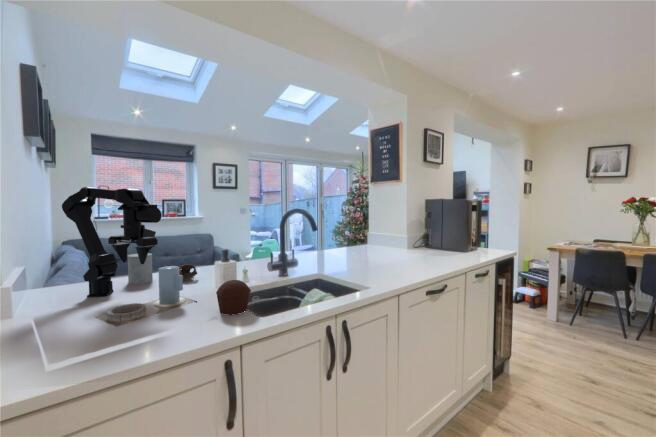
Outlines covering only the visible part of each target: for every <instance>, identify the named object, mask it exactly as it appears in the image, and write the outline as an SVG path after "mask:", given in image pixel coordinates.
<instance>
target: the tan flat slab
mask: <svg viewBox="0 0 656 437" xmlns="http://www.w3.org/2000/svg"><path fill="white" fill-rule="evenodd" d="M192 303H196V304H197V303H198V301H197V300H196V299H195V300H194V299H191V298H187V297H183V296H181V295H180V301H179V302H177V303H174V304H168V305H162V304H160V303H159V298H158V299H156V300H152V301H148V302H144V303H140V302H139V303H138V302H137V303H135V302H133V303H126V304H121V305H116V306H114V307H111V308H110V309H108V310H107V311H106V313H104V314H102V315H99V316H95V317H94V318H96V319H98V320H101V321H103V322H105V323H107V324H110V325H112V326H114V327H120V326H123V325H125V324H128V323H131V322H135V321H138V320H142V319H144V318H147V317H151V316H155V315H158V314H160V313H164V312H167V311H170V310H172V309H173V310H174V309H176V308H179V307H184V306H186V305H189V304H192Z"/></svg>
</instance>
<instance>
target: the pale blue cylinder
mask: <svg viewBox="0 0 656 437" xmlns="http://www.w3.org/2000/svg"><path fill="white" fill-rule="evenodd" d="M179 267H180V266H177V265H169V266H167V265H166V266H162V267H161V266H160V267H159V268H158V296H159V297H158V299H159V303H160V304H162V305H168V304H174V303H177V302H179V301H180V296H181V295H180V294H181V293H180V292H181V291H183V290H184V288H183V287H184V285H183V283H184V281H183V275H179Z"/></svg>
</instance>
